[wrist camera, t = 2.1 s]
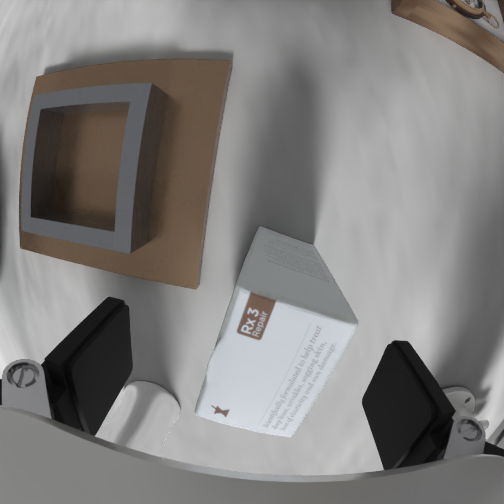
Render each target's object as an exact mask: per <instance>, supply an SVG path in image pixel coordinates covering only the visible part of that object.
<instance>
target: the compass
mask: <svg viewBox="0 0 504 504" xmlns="http://www.w3.org/2000/svg"><path fill="white" fill-rule="evenodd" d="M446 1H447V2H448V3H449V4H450V5H451V6H452V7H454V8H455V9H456V10H457V11H459V12H460V13H462V14H464V15H465V16H467V17H470V18H473V19H479V18H481V17H483V16H484V15H485V16H486V19H487V20H488V19H490V18H491V16H492V17H493V18H494V19H495V20H496V18H495V17H494V16H493V15H492V14H490V13H487V12H486V8H485V5H484V2H483V0H446ZM489 14H490V15H491V16H490V15H489ZM488 22H489V20H488ZM496 22H497V20H496ZM489 23H490V22H489ZM490 24H491V23H490ZM497 24H498V22H497ZM491 25H492V24H491ZM492 26H493V25H492ZM493 27H494V28H499V24H498V26H497V27H495V26H493Z"/></svg>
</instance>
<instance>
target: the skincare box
mask: <svg viewBox="0 0 504 504" xmlns="http://www.w3.org/2000/svg"><path fill="white" fill-rule="evenodd" d="M357 326H358V320H357V318H356V316H355V314H354V313H353V311H352V309H351V307H350V305H349V303H348V302H347V300H346V298H345V297H344V295H343V293H342V291H341V290H340V288H339V286H338V285H337V283H336V281H335V279H334V278H333V276H332V274H331V273H330V271H329V269H328V268H327V266H326V264H325V262H324V261H323V259H322V258H321V256H320V254H319V252H318V251H317V249H316V248H315V246H314V245H311V244H308V243H305V242H302V241H300V240H297V239H294V238H291V237H289V236H286V235H283V234H280V233H278V232H275V231H272V230H270V229H267V228H264V227H261V226H260V227H259V228H258V229H257V232H256V234H255V237H254V239H253V242H252V244H251V247H250V249H249V251H248V254H247V256H246V259H245V261H244V264H243V267H242V269H241V272H240V274H239V277H238V280H237V282H236V285H235V288H234V291H233V294H232V297H231V300H230V303H229V306H228V309H227V312H226V315H225V318H224V321H223V324H222V327H221V330H220V333H219V336H218V339H217V342H216V345H215V348H214V351H213V353H212V355H211V357H210V360H209V363H208V366H207V372H206V376H205V379H204V382H203V385H202V388H201V391H200V394H199V397H198V401H197V404H196V407H195V414H196V415H197V416H200V417H203V418H206V419H209V420H212V421H216V422H219V423H223V424H227V425H231V426H235V427H239V428H243V429H247V430H251V431H256V432H261V433H265V434H271V435H279V436H285V437H292V436H293V434H294V433H295V432H296V430H297V429H298V427H299V425H300V424H301V422H302V421H303V419H304V418H305V416H306V415H307V413H308V412H309V410H310V408H311V407H312V405H313V404H314V402H315V400H316V399H317V397H318V396H319V394H320V392H321V391H322V389H323V387H324V386H325V384H326V382H327V380H328V379H329V377H330V375H331V373H332V372H333V370H334V368H335V366H336V365H337V363H338V361H339V359H340V358H341V356H342V354H343V352H344V350H345V348H346V346H347V345H348V343H349V341H350V339H351V337H352V335H353V333H354V331H355V329H356V328H357Z"/></svg>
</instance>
